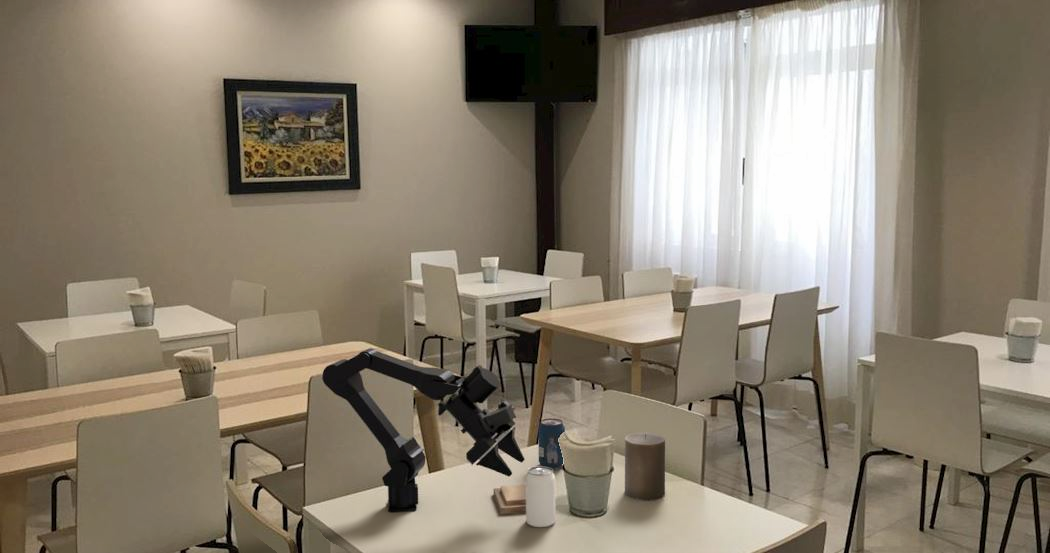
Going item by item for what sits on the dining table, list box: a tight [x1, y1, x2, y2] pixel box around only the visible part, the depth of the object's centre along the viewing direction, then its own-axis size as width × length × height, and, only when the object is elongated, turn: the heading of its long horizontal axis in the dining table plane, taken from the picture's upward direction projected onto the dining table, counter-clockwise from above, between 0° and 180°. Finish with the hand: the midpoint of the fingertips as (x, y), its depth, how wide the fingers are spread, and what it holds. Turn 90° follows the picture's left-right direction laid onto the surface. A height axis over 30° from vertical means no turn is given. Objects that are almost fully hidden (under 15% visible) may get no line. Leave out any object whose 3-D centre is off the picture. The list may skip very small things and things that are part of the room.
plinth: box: [493, 484, 526, 515], centre depth 202 cm, size 12×12×2 cm
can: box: [525, 465, 556, 529], centre depth 190 cm, size 6×6×12 cm
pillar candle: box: [624, 432, 666, 501], centre depth 207 cm, size 10×10×15 cm
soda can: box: [538, 418, 566, 470], centre depth 226 cm, size 7×7×12 cm
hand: (517, 467), depth 191 cm, fingers open, 9 cm apart
